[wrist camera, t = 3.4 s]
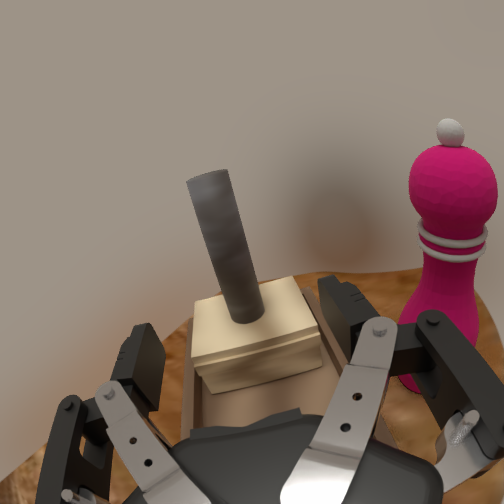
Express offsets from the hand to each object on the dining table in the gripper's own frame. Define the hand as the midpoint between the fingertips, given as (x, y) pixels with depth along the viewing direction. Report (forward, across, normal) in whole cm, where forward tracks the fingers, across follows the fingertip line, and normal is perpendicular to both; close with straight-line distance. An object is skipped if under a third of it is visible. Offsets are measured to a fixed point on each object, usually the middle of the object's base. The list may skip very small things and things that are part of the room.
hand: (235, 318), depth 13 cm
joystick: (+10, 0, +12) cm, 15 cm away
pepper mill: (+2, -14, +13) cm, 19 cm away
